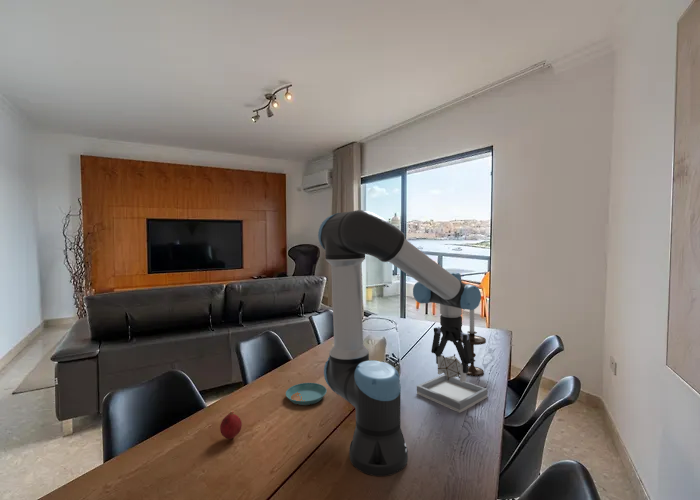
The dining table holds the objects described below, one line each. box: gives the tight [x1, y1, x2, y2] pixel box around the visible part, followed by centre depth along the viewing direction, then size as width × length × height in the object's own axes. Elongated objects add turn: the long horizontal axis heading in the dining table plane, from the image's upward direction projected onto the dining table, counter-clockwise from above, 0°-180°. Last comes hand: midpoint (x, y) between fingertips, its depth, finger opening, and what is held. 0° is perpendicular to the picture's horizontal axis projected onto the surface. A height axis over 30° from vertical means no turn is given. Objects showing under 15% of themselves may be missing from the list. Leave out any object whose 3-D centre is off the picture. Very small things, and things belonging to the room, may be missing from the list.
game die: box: [437, 353, 462, 380], centre depth 121 cm, size 9×8×10 cm
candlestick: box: [460, 309, 487, 377], centre depth 142 cm, size 11×11×35 cm
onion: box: [219, 410, 243, 440], centre depth 97 cm, size 6×6×8 cm
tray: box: [416, 373, 488, 414], centre depth 122 cm, size 17×18×3 cm
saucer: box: [285, 382, 328, 406], centre depth 122 cm, size 15×15×3 cm
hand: (451, 377), depth 121 cm, fingers closed on game die, 9 cm apart
